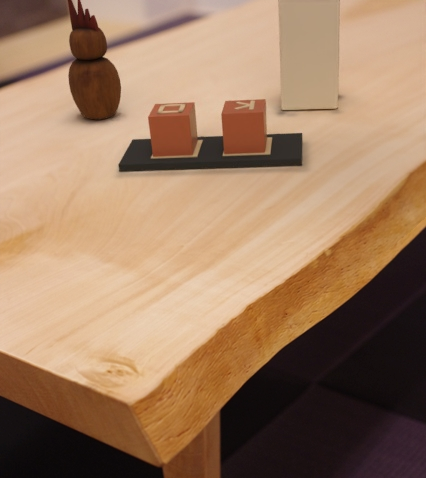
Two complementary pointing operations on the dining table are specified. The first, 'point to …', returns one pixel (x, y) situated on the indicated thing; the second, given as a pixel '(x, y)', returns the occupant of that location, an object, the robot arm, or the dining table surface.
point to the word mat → (215, 155)
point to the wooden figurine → (91, 67)
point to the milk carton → (309, 53)
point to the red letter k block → (244, 126)
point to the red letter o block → (173, 129)
